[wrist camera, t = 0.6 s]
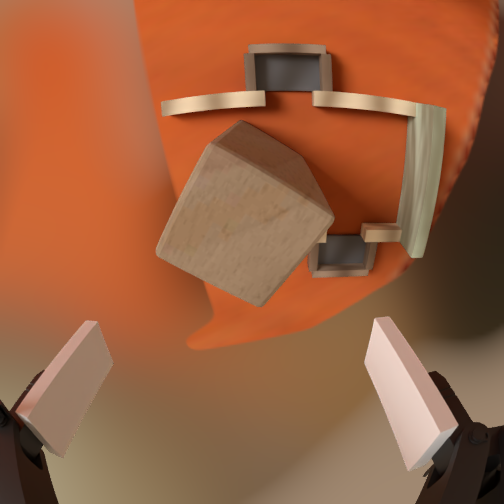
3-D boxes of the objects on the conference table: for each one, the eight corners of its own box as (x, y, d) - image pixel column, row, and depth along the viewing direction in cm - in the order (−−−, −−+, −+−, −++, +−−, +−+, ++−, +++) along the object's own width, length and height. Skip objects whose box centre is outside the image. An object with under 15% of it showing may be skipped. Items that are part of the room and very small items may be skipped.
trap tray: (193, 270, 46) (182, 297, 40) (163, 60, 28) (142, 54, 23) (396, 266, 43) (411, 291, 37) (419, 64, 26) (445, 62, 20)
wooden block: (204, 179, 38) (151, 256, 21) (240, 118, 33) (208, 139, 16) (265, 214, 40) (261, 311, 23) (304, 157, 35) (339, 219, 18)
